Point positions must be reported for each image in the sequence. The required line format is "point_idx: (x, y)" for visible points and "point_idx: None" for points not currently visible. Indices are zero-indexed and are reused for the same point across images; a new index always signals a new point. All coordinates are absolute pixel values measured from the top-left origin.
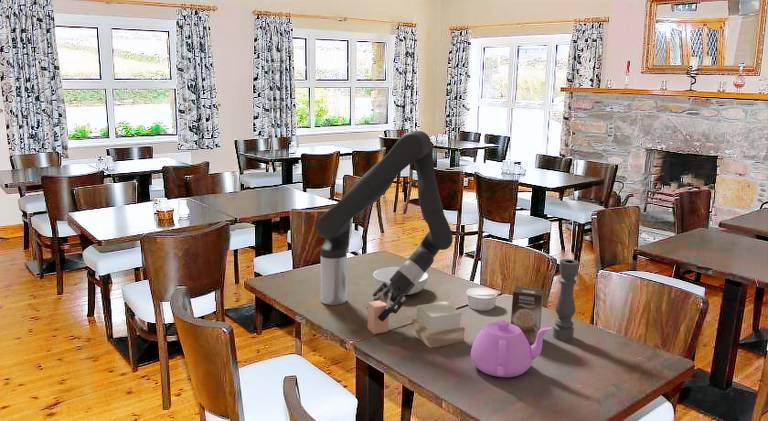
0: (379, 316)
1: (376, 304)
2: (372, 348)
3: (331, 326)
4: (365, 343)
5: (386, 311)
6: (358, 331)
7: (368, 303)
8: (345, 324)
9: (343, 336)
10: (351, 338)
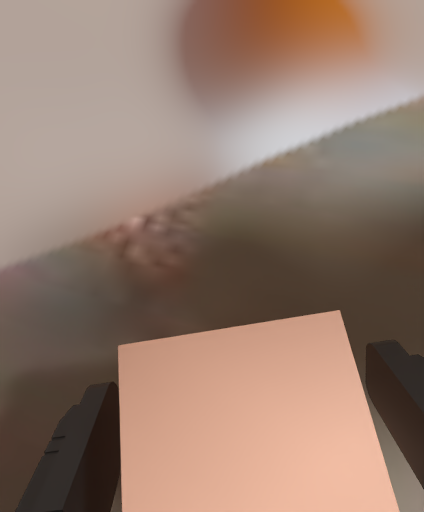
0: (87, 396)
1: (210, 412)
2: (14, 300)
3: (347, 154)
4: (83, 279)
5: (25, 506)
6: (249, 278)
7: (314, 315)
8: (370, 226)
9: (202, 191)
10: (167, 224)
